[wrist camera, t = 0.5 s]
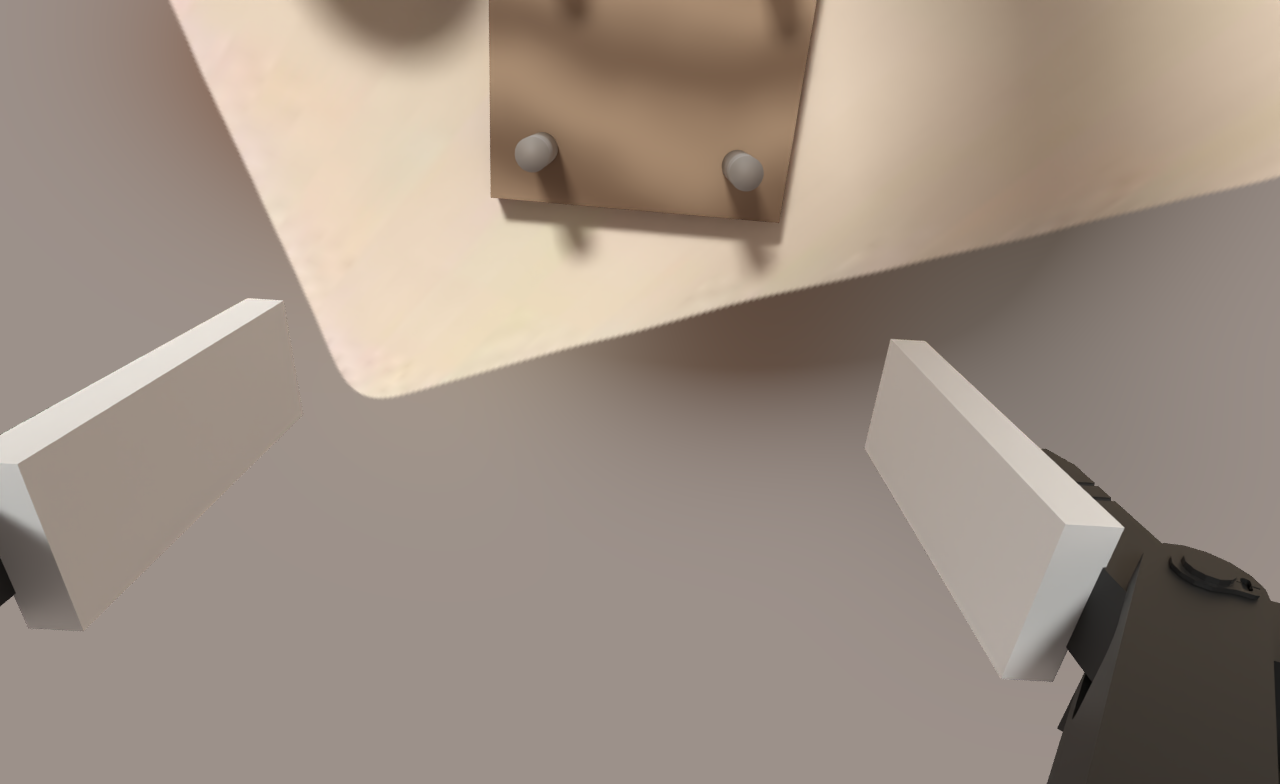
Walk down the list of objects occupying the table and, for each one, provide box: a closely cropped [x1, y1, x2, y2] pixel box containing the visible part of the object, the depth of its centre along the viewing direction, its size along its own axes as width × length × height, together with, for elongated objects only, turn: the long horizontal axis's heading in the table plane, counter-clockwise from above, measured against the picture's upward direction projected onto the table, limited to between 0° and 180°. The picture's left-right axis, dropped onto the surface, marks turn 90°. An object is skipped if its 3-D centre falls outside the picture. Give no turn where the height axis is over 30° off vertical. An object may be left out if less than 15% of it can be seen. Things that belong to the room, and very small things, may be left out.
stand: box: [489, 0, 817, 223], centre depth 32 cm, size 16×16×6 cm
